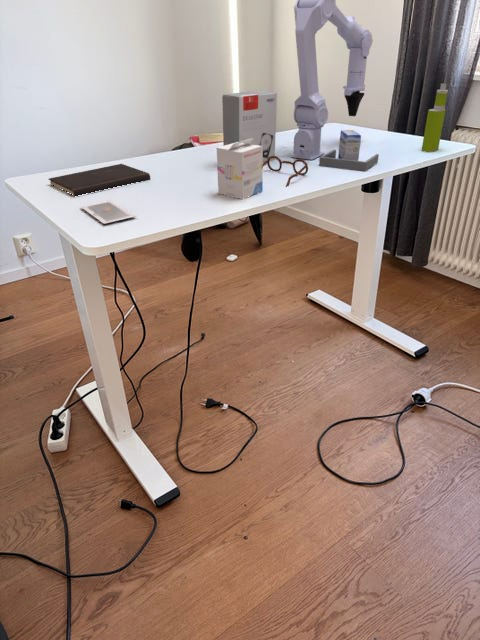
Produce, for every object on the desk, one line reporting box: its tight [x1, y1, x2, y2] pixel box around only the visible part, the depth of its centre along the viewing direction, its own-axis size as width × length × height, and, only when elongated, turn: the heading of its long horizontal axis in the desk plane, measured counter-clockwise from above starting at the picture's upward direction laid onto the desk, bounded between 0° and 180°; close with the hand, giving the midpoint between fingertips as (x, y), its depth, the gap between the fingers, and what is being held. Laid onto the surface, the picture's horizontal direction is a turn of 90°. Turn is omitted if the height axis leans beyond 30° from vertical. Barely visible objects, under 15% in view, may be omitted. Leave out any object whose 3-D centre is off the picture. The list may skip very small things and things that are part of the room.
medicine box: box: [337, 129, 362, 161], centre depth 150 cm, size 8×4×9 cm, turn 4°
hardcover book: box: [48, 163, 151, 197], centre depth 137 cm, size 16×23×2 cm
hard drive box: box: [221, 90, 278, 163], centre depth 149 cm, size 16×8×20 cm, turn 129°
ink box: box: [216, 138, 264, 200], centre depth 123 cm, size 9×8×13 cm
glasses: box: [263, 155, 309, 188], centre depth 137 cm, size 13×13×5 cm
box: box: [318, 149, 380, 172], centre depth 149 cm, size 11×15×2 cm
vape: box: [421, 83, 449, 153], centre depth 158 cm, size 4×6×20 cm, turn 126°
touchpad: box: [80, 199, 137, 225], centre depth 114 cm, size 8×15×2 cm, turn 36°
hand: (352, 115), depth 168 cm, fingers closed
